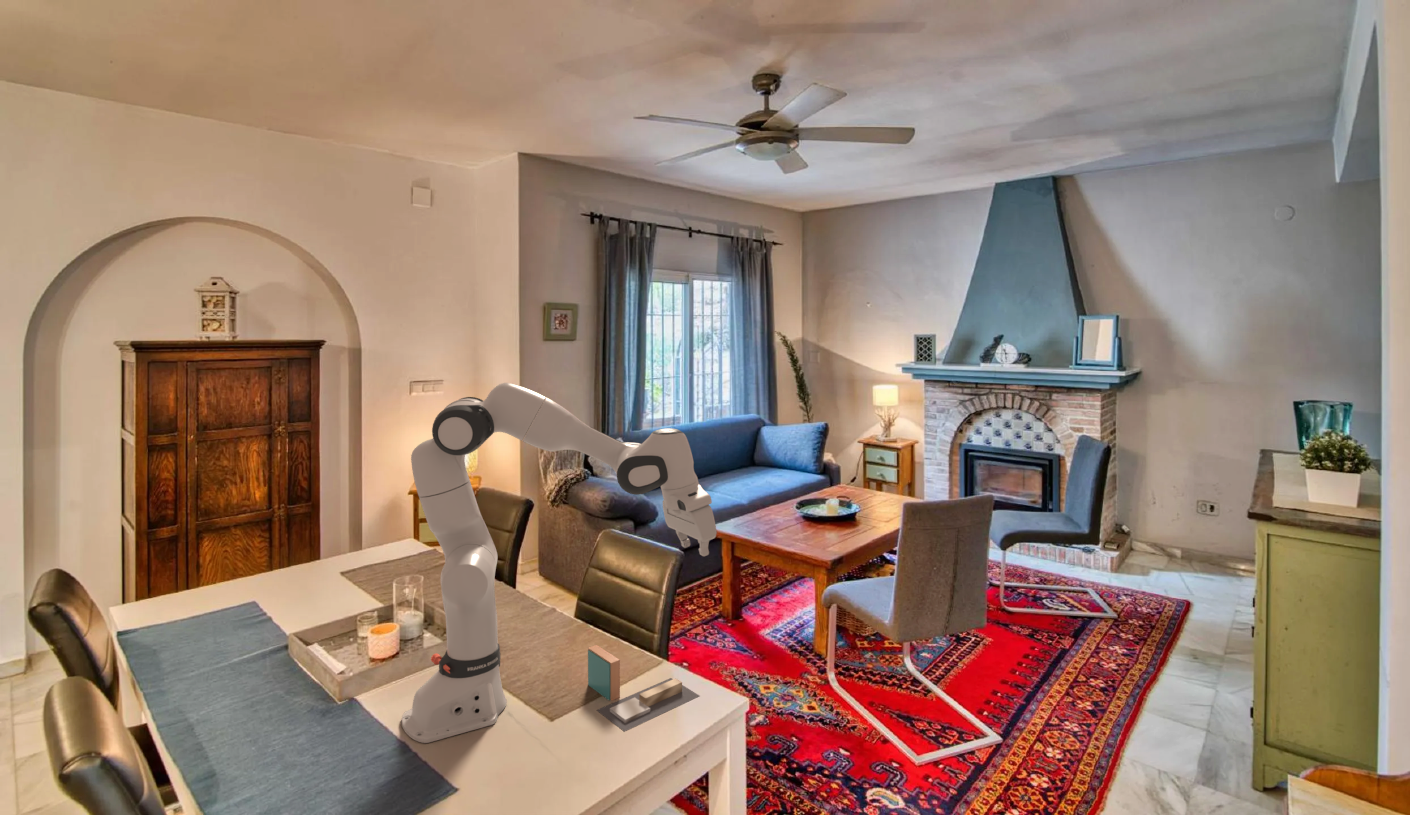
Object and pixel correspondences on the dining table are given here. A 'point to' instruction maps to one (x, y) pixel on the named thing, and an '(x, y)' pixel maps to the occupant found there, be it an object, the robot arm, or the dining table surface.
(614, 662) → the tile
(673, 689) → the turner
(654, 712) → the mat
